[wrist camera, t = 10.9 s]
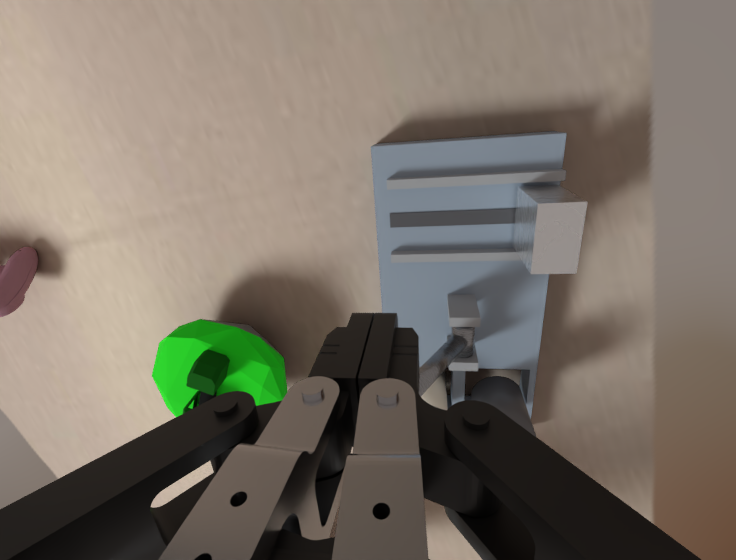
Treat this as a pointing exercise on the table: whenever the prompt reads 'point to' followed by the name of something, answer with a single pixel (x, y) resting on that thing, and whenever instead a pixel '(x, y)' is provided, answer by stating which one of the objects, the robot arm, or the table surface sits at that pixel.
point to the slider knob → (549, 228)
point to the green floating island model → (217, 365)
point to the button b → (504, 399)
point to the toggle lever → (447, 356)
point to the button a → (437, 393)
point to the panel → (464, 246)
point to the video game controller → (16, 279)
